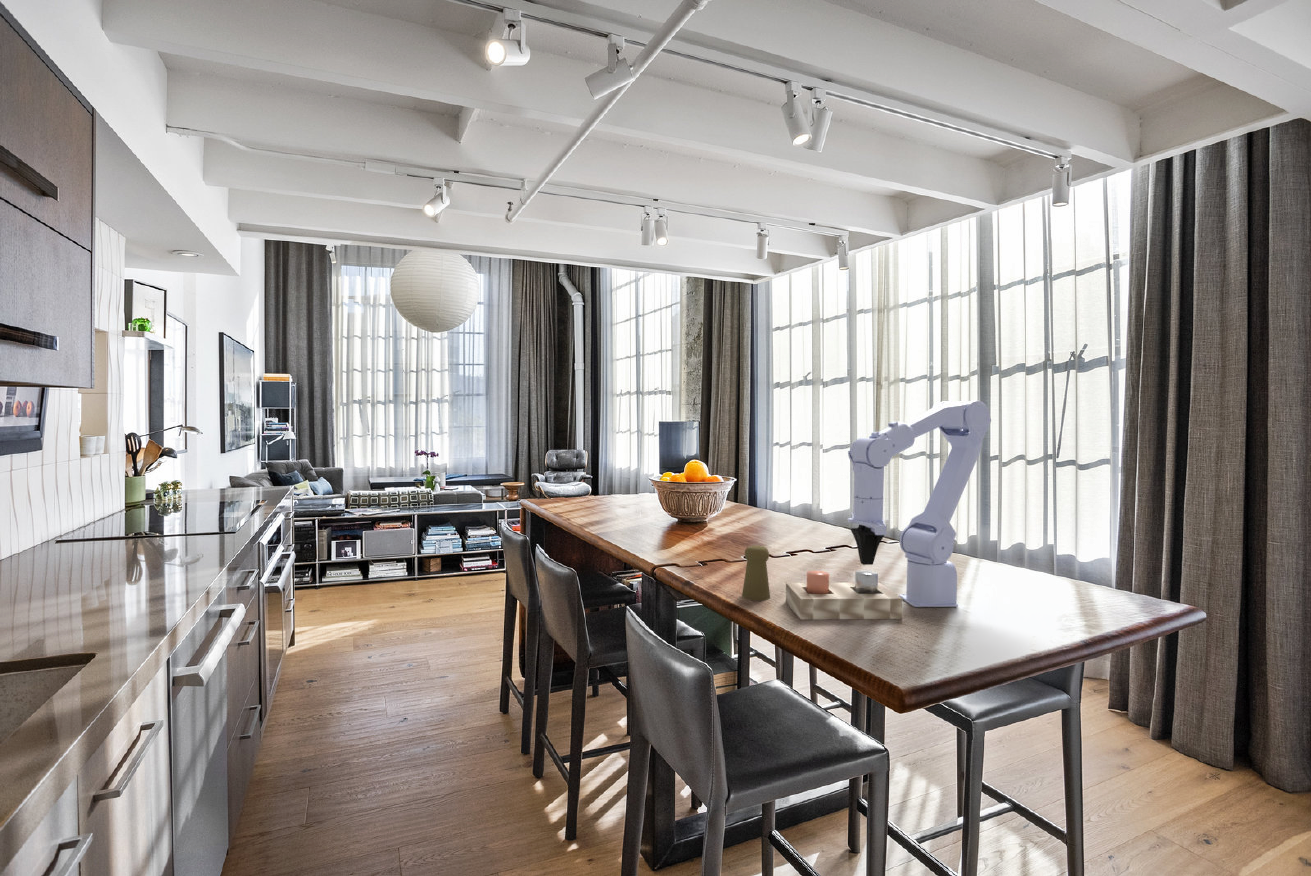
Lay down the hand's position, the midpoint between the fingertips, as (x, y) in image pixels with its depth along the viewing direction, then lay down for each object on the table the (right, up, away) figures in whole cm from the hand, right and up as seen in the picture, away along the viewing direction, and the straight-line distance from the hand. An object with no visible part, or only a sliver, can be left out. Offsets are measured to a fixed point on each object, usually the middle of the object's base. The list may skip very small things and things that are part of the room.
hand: (866, 564), depth 136 cm
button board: (-5, -9, 0) cm, 11 cm away
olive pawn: (-21, -9, +9) cm, 25 cm away
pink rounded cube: (-10, -6, 0) cm, 12 cm away
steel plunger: (0, -6, 0) cm, 6 cm away
